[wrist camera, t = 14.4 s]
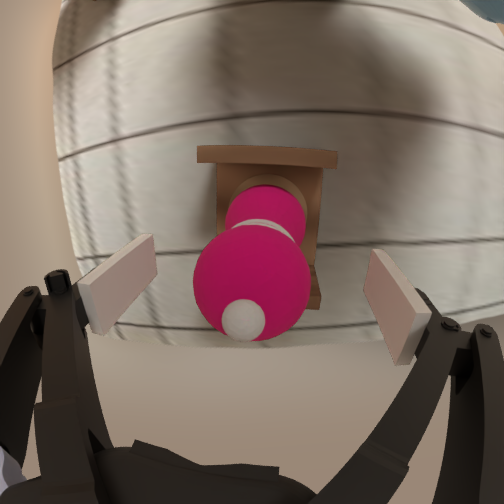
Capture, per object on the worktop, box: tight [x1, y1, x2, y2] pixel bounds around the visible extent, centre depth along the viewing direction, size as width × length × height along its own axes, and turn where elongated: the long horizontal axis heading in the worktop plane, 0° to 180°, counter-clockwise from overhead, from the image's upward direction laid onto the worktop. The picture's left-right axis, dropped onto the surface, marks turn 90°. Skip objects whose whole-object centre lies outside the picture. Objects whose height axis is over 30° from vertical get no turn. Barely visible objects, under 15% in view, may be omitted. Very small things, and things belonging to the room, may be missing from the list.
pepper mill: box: [193, 184, 311, 342], centre depth 19 cm, size 7×7×20 cm
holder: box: [197, 145, 337, 310], centre depth 26 cm, size 14×11×8 cm
